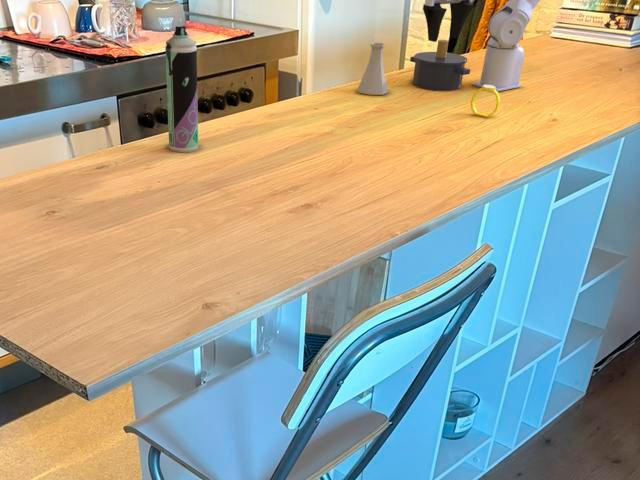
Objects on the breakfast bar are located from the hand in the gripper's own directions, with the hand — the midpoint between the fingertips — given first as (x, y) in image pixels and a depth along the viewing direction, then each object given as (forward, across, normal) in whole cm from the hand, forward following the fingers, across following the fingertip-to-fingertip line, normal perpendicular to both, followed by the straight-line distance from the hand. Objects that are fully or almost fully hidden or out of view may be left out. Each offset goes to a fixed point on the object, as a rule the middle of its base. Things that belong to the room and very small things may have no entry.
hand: (443, 39), depth 191 cm
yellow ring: (+10, +13, +25) cm, 30 cm away
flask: (+10, +19, -3) cm, 21 cm away
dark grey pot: (+10, 0, 0) cm, 10 cm away
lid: (+4, 0, 0) cm, 4 cm away
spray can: (+10, +81, +8) cm, 82 cm away
